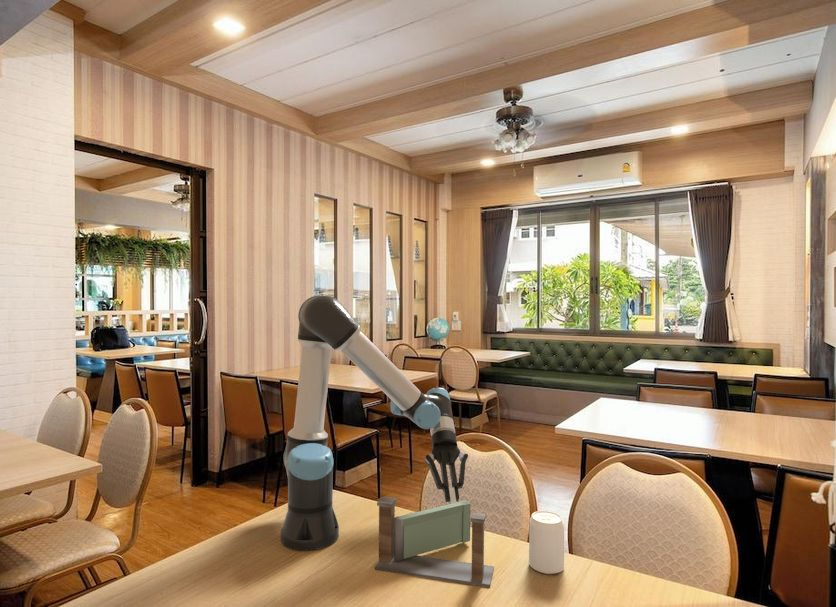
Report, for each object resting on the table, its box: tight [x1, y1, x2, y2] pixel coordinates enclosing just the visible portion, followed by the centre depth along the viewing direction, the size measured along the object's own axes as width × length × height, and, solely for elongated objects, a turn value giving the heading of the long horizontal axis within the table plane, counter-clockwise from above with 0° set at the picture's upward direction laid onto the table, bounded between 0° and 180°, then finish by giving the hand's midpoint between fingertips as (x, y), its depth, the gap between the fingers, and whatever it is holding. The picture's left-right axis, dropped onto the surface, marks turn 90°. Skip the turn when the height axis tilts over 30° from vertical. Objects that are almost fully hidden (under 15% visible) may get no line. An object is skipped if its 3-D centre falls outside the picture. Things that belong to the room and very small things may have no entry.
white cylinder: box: [528, 510, 565, 575], centre depth 120 cm, size 8×8×12 cm
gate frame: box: [374, 496, 495, 588], centre depth 118 cm, size 8×28×15 cm, turn 75°
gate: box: [394, 499, 471, 561], centre depth 126 cm, size 2×22×10 cm, turn 120°
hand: (454, 512), depth 136 cm, fingers closed
